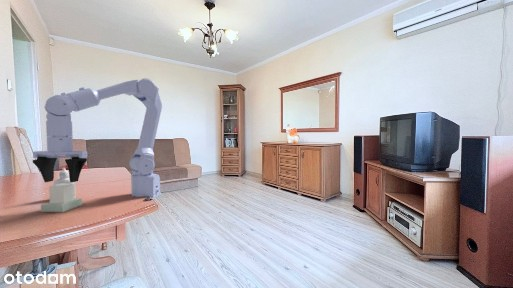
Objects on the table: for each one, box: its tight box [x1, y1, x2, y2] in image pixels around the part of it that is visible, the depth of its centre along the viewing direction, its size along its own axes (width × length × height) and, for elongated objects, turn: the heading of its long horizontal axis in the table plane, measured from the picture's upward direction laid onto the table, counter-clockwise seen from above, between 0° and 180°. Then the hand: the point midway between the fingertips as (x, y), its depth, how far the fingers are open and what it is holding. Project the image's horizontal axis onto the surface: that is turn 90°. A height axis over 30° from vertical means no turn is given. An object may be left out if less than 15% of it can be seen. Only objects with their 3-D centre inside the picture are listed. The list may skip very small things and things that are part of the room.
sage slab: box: [40, 197, 83, 212], centre depth 65 cm, size 6×6×2 cm
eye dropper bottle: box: [53, 167, 76, 186], centre depth 75 cm, size 4×6×12 cm
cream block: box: [48, 184, 76, 204], centre depth 65 cm, size 4×4×5 cm
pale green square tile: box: [36, 203, 86, 214], centre depth 65 cm, size 8×8×2 cm
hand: (61, 181), depth 65 cm, fingers open, 7 cm apart
